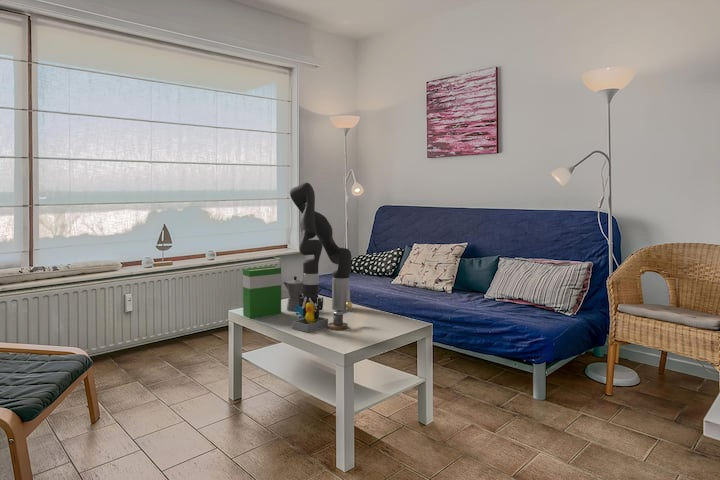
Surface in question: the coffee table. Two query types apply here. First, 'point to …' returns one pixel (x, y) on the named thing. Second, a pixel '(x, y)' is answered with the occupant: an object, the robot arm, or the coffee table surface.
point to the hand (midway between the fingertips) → (310, 317)
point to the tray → (310, 324)
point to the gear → (299, 311)
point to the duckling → (310, 313)
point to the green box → (261, 291)
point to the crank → (348, 309)
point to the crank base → (337, 323)
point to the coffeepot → (293, 293)
